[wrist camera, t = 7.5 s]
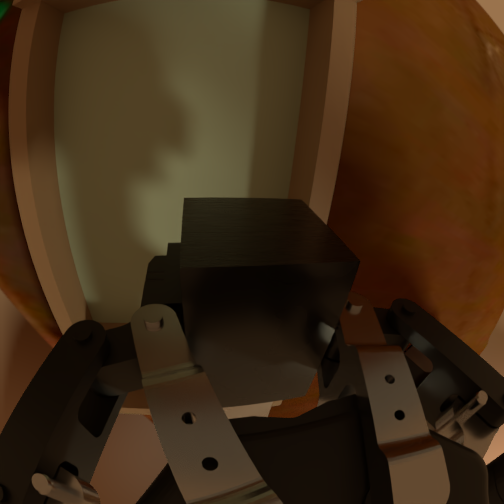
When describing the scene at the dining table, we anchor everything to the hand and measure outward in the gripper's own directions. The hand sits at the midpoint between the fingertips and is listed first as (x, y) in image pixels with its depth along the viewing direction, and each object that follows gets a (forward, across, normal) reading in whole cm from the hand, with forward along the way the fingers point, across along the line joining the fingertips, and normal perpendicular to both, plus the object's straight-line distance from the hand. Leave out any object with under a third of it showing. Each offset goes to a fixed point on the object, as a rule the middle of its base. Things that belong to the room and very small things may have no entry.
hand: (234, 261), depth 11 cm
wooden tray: (+7, +3, +1) cm, 7 cm away
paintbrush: (+4, 0, +13) cm, 14 cm away
